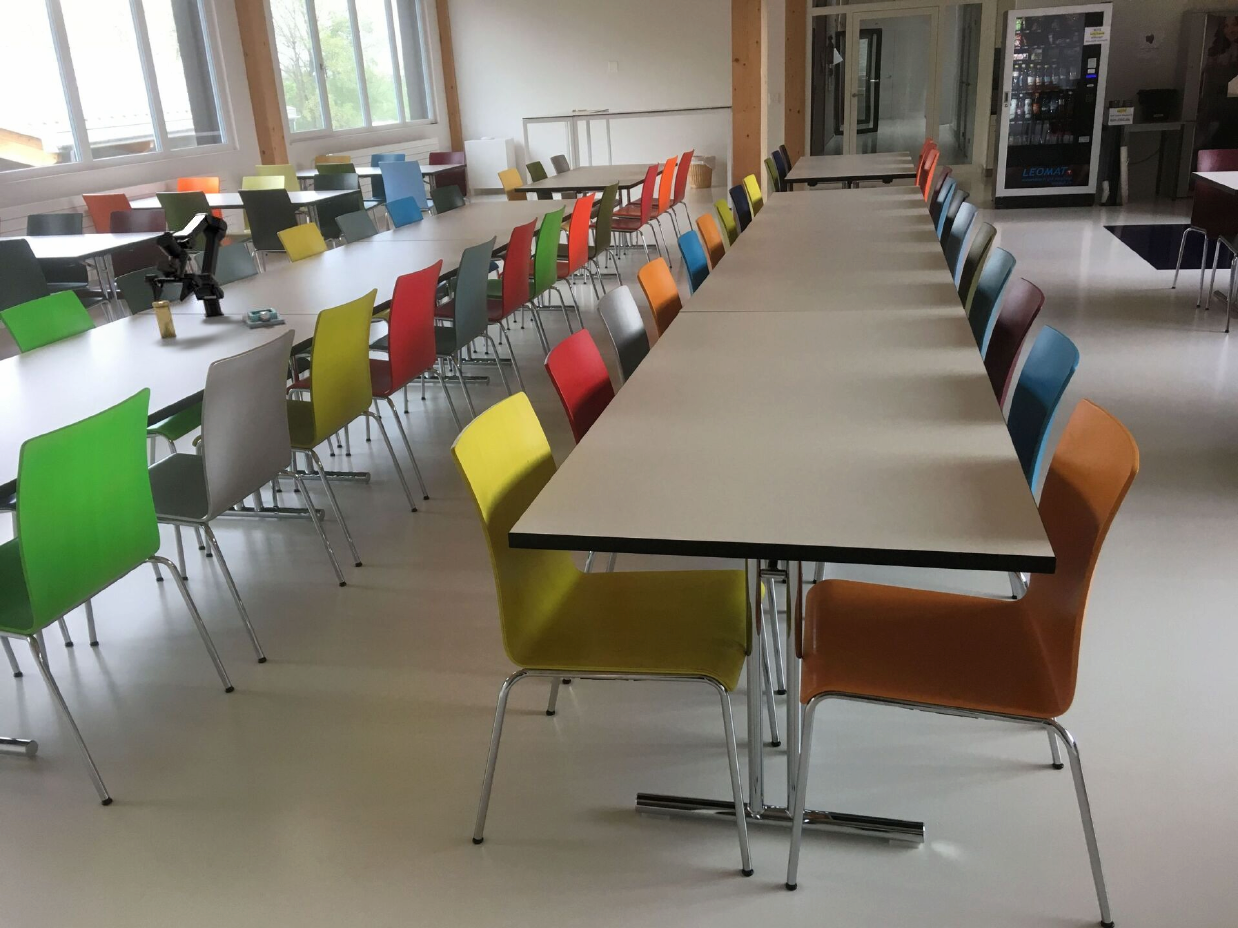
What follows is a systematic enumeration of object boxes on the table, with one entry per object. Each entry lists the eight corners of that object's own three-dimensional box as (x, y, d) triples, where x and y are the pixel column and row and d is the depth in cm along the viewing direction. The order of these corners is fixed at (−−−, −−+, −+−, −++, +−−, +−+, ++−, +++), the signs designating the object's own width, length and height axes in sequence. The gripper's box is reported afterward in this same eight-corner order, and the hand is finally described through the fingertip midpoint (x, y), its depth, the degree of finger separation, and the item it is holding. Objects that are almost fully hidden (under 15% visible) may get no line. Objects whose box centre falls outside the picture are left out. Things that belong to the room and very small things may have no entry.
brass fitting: (159, 336, 335) (151, 302, 331) (176, 333, 338) (168, 299, 333) (160, 339, 331) (152, 304, 326) (177, 336, 333) (169, 302, 329)
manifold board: (242, 319, 353) (240, 307, 352) (276, 314, 358) (274, 302, 357) (249, 328, 338) (247, 316, 337) (284, 323, 343) (282, 310, 342)
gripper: (140, 251, 334) (129, 289, 328) (190, 249, 332) (181, 287, 326) (157, 270, 344) (147, 307, 338) (206, 268, 342) (198, 305, 336)
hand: (168, 301), depth 334 cm, fingers open, 9 cm apart
